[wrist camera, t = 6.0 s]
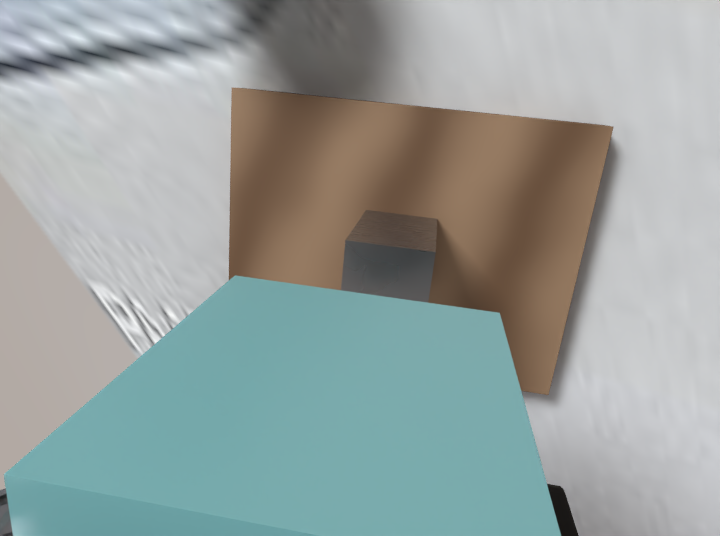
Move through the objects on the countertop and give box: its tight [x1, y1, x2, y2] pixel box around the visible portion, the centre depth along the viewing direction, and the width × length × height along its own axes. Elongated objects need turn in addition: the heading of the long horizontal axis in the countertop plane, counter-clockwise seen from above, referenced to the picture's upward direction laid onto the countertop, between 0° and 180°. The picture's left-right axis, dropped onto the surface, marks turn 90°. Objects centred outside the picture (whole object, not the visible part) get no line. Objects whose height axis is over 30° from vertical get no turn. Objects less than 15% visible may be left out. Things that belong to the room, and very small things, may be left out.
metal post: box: [341, 210, 437, 303], centre depth 24 cm, size 4×4×6 cm
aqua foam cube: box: [4, 276, 561, 536], centre depth 10 cm, size 6×6×7 cm
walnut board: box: [229, 88, 613, 395], centre depth 28 cm, size 18×14×2 cm
